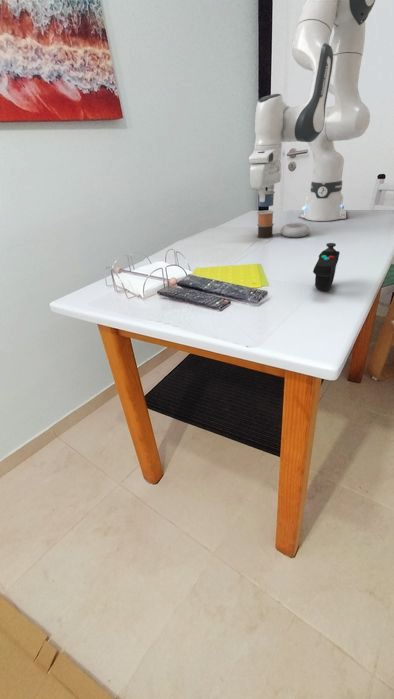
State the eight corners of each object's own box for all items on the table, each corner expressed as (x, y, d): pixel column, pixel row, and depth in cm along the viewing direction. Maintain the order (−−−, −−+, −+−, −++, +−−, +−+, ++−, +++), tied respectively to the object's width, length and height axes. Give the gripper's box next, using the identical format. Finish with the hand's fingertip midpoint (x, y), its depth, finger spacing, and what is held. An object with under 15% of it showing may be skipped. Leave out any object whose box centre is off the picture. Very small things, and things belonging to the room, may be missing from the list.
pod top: (261, 203, 123) (261, 190, 121) (276, 204, 121) (277, 190, 118) (255, 206, 119) (255, 193, 117) (270, 206, 116) (271, 193, 114)
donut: (281, 239, 121) (310, 238, 119) (281, 229, 119) (311, 228, 117) (280, 232, 129) (308, 231, 127) (281, 223, 127) (308, 221, 125)
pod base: (260, 233, 129) (260, 222, 127) (275, 234, 126) (275, 222, 124) (254, 237, 125) (255, 225, 123) (269, 238, 122) (270, 226, 120)
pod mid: (260, 222, 127) (260, 210, 124) (275, 222, 124) (276, 210, 122) (254, 225, 123) (254, 213, 120) (270, 226, 120) (270, 213, 118)
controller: (336, 281, 84) (342, 241, 78) (328, 301, 75) (334, 257, 69) (318, 280, 85) (323, 240, 80) (308, 299, 76) (313, 255, 71)
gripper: (269, 153, 120) (267, 195, 128) (246, 158, 106) (246, 205, 113) (286, 152, 118) (284, 195, 125) (265, 157, 103) (264, 205, 110)
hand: (266, 200), depth 119 cm, fingers closed on pod top, 5 cm apart
